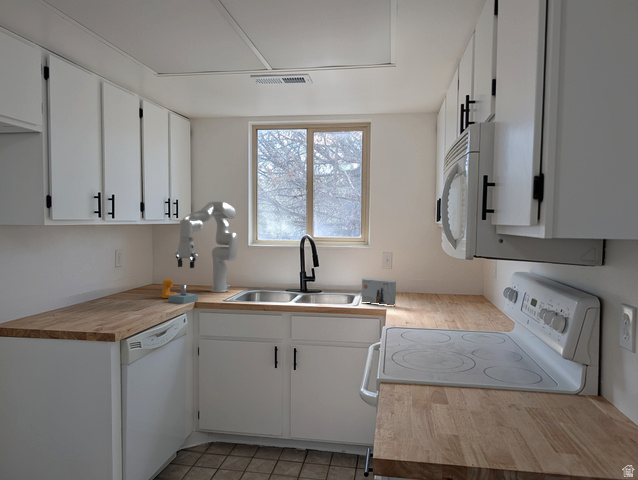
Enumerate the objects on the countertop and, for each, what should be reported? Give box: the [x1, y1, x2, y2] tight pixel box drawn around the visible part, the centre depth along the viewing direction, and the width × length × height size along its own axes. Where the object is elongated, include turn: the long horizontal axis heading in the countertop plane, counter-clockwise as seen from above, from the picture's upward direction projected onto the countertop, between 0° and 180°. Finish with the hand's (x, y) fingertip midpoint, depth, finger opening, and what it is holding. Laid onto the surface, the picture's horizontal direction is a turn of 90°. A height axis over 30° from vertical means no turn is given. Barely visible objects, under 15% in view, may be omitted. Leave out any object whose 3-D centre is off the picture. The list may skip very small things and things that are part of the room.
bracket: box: [161, 278, 178, 299], centre depth 272 cm, size 11×7×12 cm, turn 5°
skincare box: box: [361, 277, 397, 305], centre depth 267 cm, size 21×5×16 cm, turn 62°
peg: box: [180, 284, 187, 296], centre depth 261 cm, size 3×3×10 cm
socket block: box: [168, 292, 199, 305], centre depth 261 cm, size 12×12×4 cm
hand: (186, 267), depth 263 cm, fingers open, 9 cm apart
